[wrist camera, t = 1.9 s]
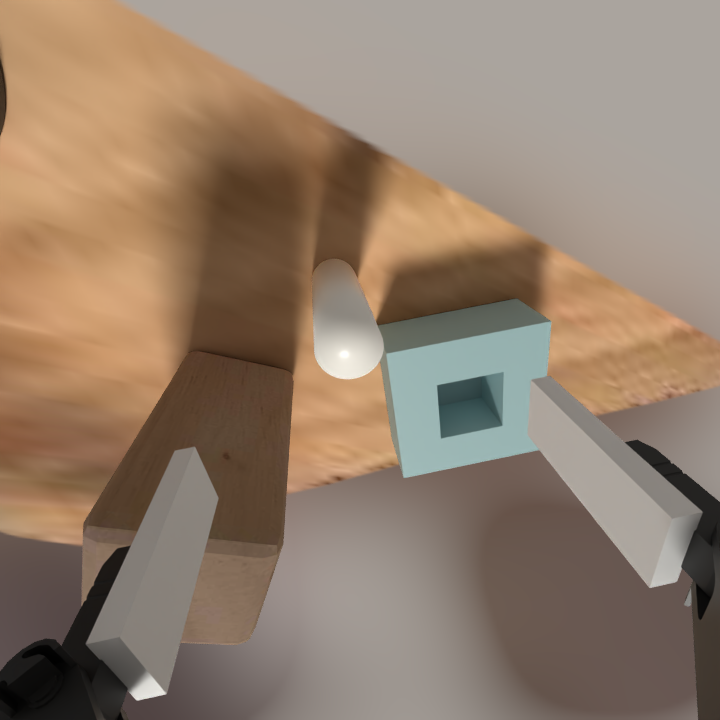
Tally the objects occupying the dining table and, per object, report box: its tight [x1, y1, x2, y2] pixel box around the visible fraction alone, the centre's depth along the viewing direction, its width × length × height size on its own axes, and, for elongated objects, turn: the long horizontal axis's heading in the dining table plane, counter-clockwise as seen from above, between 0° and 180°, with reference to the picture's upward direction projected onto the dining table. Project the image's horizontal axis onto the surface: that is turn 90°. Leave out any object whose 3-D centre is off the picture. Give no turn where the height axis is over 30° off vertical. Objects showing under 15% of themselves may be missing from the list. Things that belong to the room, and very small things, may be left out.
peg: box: [312, 259, 384, 379], centre depth 28 cm, size 4×4×14 cm
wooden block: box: [81, 351, 293, 645], centre depth 30 cm, size 10×10×20 cm
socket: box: [378, 299, 551, 478], centre depth 38 cm, size 14×14×6 cm
